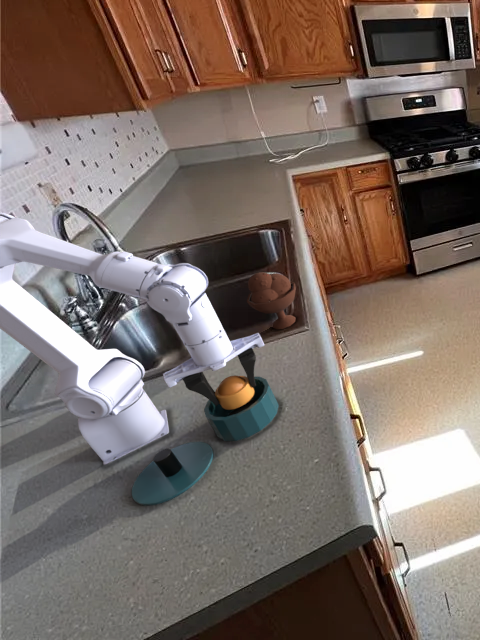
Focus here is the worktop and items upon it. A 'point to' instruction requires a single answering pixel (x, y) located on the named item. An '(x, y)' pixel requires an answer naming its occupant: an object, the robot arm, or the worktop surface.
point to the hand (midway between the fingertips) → (235, 392)
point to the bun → (234, 392)
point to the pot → (244, 414)
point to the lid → (172, 473)
